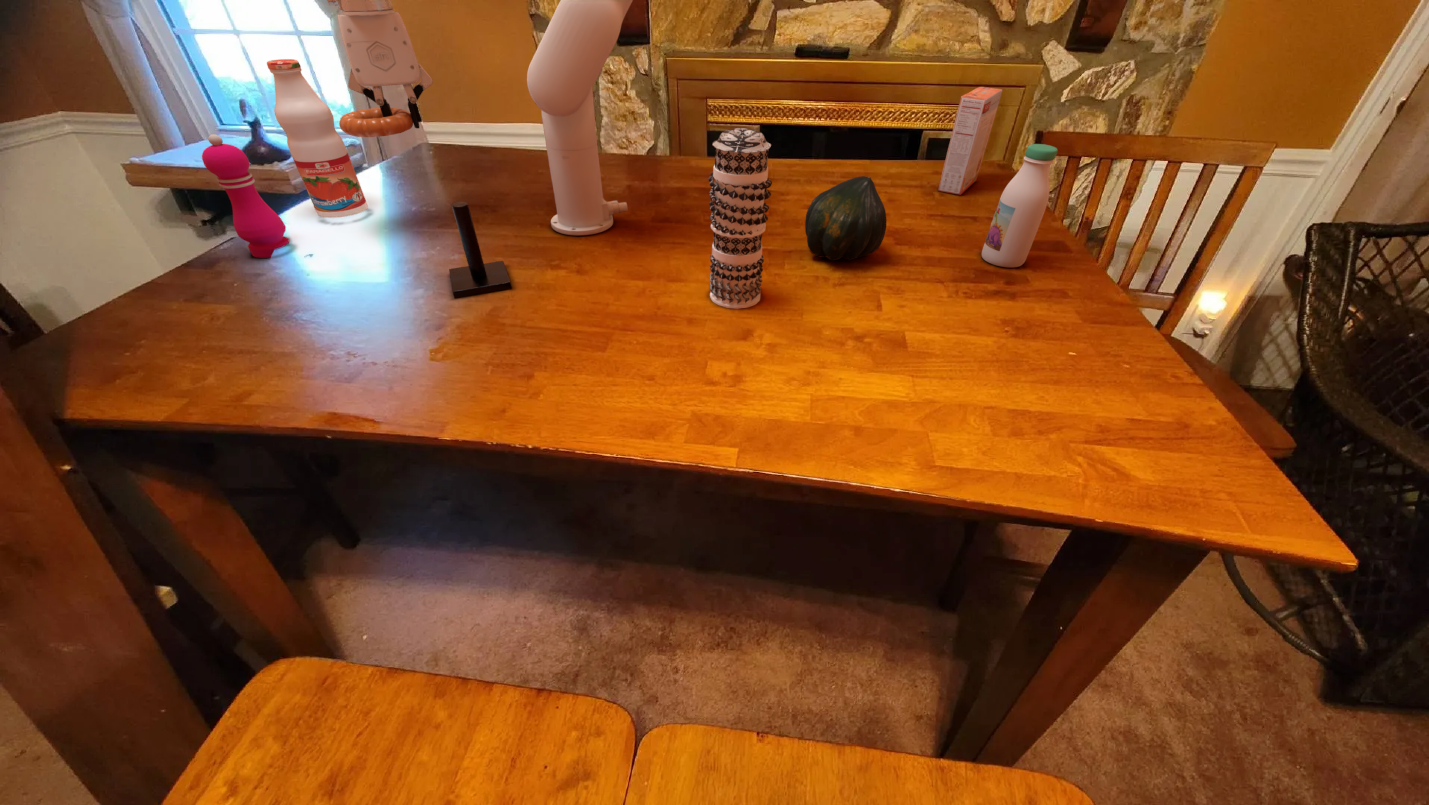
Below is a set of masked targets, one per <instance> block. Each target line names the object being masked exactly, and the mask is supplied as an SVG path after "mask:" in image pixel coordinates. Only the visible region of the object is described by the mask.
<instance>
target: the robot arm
mask: <svg viewBox="0 0 1429 805" xmlns="http://www.w3.org/2000/svg"><path fill="white" fill-rule="evenodd" d="M326 1H327V3H328V5H329V6H335V7H337V8H339V9H340V11H341V13H340V14H337V20H338V26H339V31H340V35H341V39H342V42H343V45H344V49H345V53H346V55H347V60H348V63H349V65H350V73H349V78H348V84H347V87H348V89H349V90H351V91H354V92H356V93H358V94H361V95H364V96H365V97H367V98H368V99H370V100H371V101H372V102H374V103H375V104H376V105H377V106H379V108H380V109H381V112H382V115H383V117H388V116H393V114H392V111H391V108H392V107H391V105H390V103H388V101H387V99H386V98H385V95H384V91H383V90H384V89H383V87H385V86H386V87H387V86H400V85H401V86H403V89H404V91H405V93H406V96H407V107H408V110H409V111H408V112H409V113H410V114H411V117H412V120H413V126H414V129H416V130H417V129H420V123H423V119H422V116H421V112H420V109H419V106H418V101H419V98H420V97H421V95H422V94H423V92H424V91H425V90H427V89H428V88H430V87H431V86H432V85H433V84H434V80H433V78H432V77H431V75H429V73H428V72H427V71H426V69H425V68H424V67H423V66H422V65H421V64H420V63H419V61H418V58H417V55H416V52H415V50H414V46H413V44H412V40H411V38H410V35H409V32H408V31H407V28H406V25H405V23H404V20H403V17H402V16H401V14H400V13H399V12H398V11H395V10H394V7H393V3H392V0H326ZM633 1H634V0H560V1H559V2H558V4H557V5H556V6H557V7H556V8H555V11H554V13H553V14H552V17H551V19H550V21H549V23H548V26H547V28H546V29H545V32H544V34H543V35H542V37H541V40H540V42H539V44H538V46H537V48H536V50H535V52H534V54H533V56H532V59H531V61H530V63H529V66H528V69H527V73H526V85H527V90H528V92H529V96H530V97H531V99H532V101H533V103H534V104H535V105H536V106H537V107H538V109H539V110H540V113H541V121H542V128H543V135H544V142H545V147H546V148H545V149H546V154H547V159H548V165H549V172H550V178H551V185H552V191H553V196H554V203H555V208H556V214H555V215H553V217H552V218H551V219H550V225H551V226H550V227H551V229H553V230H554V231H555V232H557V233H559V234H561V235H568V236H589V235H595V234H599V233H602V232H605V231H607V230H608V229H610V228H612V226H613V225H614V217H613V215H614V214H615V213H618V214H619V213H620V214H621V213H627V212H628V211H629V210H628V204H627V201H623V202H618V200H611V201H607V200H605V198H604V192H603V183H602V176H601V167H600V166H601V165H600V156H599V148H598V137H597V128H596V118H595V117H596V116H595V107H594V106H595V105H594V90H593V86H594V85H595V83H596V80H597V79H598V77H599V75H600V73H601V71H602V69H603V68H604V66H605V64H606V62H607V61H608V58H609V57H610V55H611V54H612V52H613V49H614V47H615V45H616V44H617V41H618V39H619V37H620V33H621V28H622V24H623V21H624V19H625V17H626V14H627V13H628V11H629V9H630V7H631V5H632V3H633ZM413 84H415V86H414V87H413ZM370 87H372V88H370Z"/></svg>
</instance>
